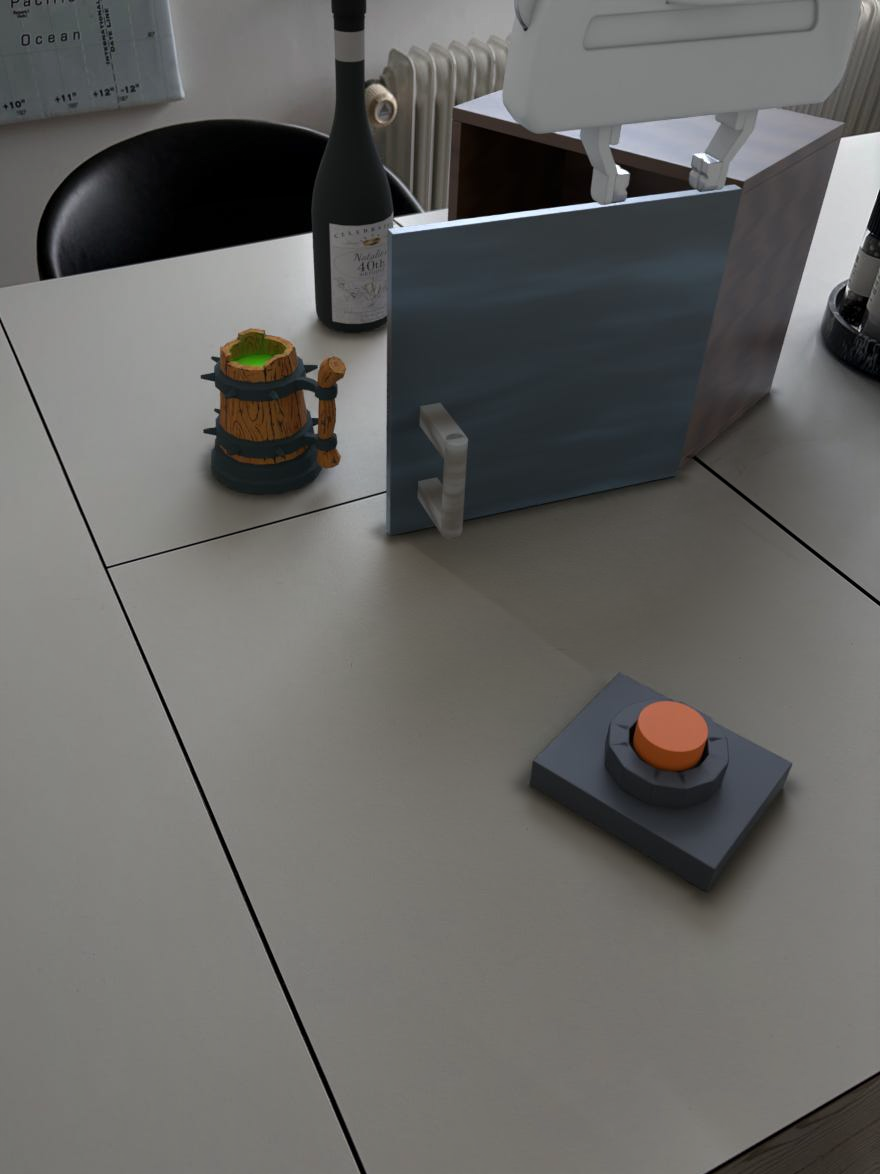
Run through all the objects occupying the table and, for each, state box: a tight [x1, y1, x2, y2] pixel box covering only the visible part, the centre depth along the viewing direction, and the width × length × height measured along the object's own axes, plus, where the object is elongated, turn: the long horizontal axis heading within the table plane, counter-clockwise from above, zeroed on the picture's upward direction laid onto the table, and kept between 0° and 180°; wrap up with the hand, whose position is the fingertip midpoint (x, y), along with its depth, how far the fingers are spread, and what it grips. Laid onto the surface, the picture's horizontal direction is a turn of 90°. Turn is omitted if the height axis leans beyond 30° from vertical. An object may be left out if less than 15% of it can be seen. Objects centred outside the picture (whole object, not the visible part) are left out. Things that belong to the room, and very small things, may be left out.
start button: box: [633, 701, 708, 772], centre depth 61 cm, size 4×4×2 cm
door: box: [385, 185, 742, 540], centre depth 75 cm, size 7×26×24 cm, turn 110°
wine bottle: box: [310, 0, 394, 334], centre depth 99 cm, size 8×8×30 cm
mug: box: [200, 327, 347, 496], centre depth 85 cm, size 13×10×12 cm
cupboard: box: [447, 88, 846, 470], centre depth 92 cm, size 18×26×24 cm
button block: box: [529, 672, 793, 893], centre depth 62 cm, size 12×10×4 cm
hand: (657, 194), depth 62 cm, fingers open, 5 cm apart
